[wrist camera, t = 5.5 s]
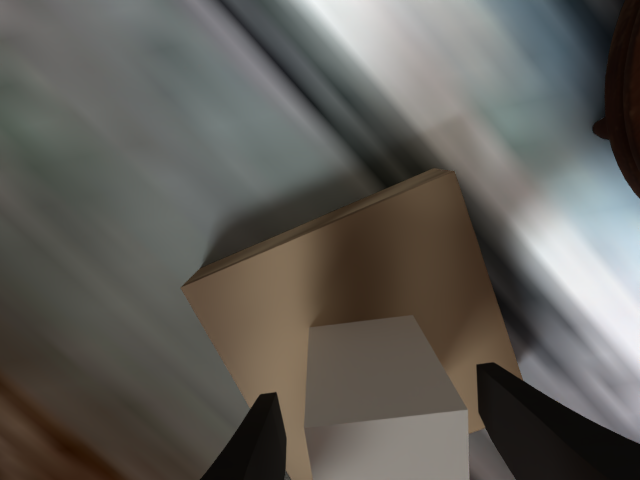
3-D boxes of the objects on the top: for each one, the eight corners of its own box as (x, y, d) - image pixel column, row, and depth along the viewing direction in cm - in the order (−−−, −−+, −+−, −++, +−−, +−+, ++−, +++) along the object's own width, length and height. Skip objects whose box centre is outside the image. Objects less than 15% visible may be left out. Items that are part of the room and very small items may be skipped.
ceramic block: (412, 315, 15) (467, 409, 9) (418, 402, 16) (470, 532, 10) (308, 327, 15) (304, 428, 9) (322, 413, 16) (324, 547, 10)
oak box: (429, 167, 16) (454, 171, 13) (499, 371, 19) (533, 411, 16) (203, 264, 17) (180, 287, 14) (301, 442, 20) (299, 492, 17)
